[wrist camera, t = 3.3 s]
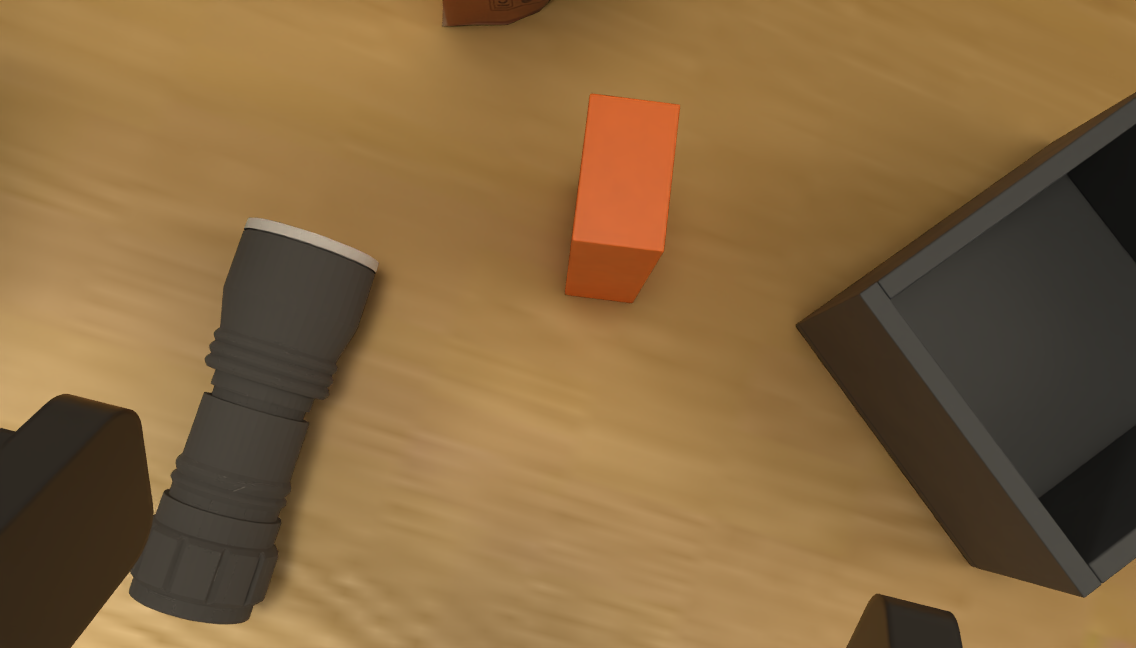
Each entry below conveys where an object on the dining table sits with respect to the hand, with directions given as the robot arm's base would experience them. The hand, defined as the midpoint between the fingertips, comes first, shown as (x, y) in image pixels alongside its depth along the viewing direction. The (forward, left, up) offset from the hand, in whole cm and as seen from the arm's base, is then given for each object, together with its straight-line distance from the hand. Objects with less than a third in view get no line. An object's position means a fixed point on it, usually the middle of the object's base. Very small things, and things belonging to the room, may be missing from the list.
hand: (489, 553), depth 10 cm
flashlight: (-8, +8, -31) cm, 33 cm away
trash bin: (+20, -8, -31) cm, 38 cm away
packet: (+8, +6, -31) cm, 32 cm away
